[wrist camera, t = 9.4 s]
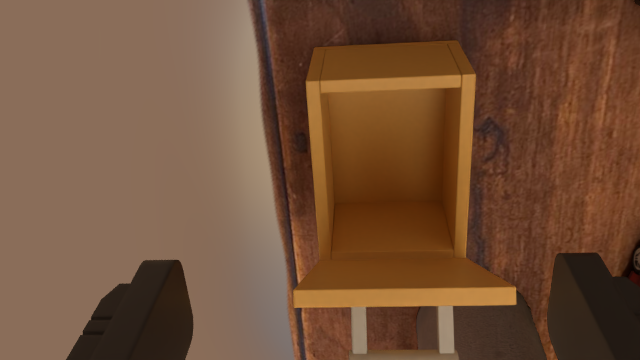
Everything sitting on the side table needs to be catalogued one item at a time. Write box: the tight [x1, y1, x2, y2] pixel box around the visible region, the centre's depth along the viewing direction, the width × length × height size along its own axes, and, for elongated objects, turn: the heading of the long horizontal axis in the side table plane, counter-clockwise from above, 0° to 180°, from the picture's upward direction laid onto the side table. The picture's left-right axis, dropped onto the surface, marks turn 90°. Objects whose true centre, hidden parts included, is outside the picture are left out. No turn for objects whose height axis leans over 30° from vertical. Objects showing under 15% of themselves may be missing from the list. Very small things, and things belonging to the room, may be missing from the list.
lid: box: [293, 258, 517, 360], centre depth 33 cm, size 13×10×5 cm
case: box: [306, 40, 476, 261], centre depth 40 cm, size 13×10×7 cm
